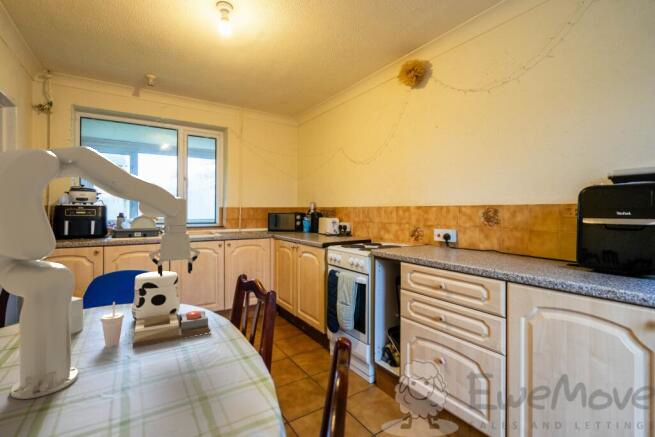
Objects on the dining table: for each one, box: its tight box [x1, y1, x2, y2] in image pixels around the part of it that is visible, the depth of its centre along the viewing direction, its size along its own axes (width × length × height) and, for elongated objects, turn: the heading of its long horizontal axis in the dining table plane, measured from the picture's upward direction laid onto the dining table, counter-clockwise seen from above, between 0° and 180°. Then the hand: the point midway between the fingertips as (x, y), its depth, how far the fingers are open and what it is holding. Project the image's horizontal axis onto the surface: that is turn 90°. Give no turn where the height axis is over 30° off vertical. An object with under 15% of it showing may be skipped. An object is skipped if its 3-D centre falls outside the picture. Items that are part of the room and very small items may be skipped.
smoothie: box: [100, 301, 125, 348], centre depth 98 cm, size 6×6×14 cm
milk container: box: [131, 270, 181, 321], centre depth 122 cm, size 17×17×18 cm
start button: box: [186, 310, 201, 320], centre depth 112 cm, size 5×5×3 cm
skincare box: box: [71, 296, 84, 335], centre depth 107 cm, size 6×4×12 cm
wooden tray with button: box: [132, 310, 211, 349], centre depth 108 cm, size 14×24×5 cm, turn 121°
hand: (175, 274), depth 112 cm, fingers open, 9 cm apart
